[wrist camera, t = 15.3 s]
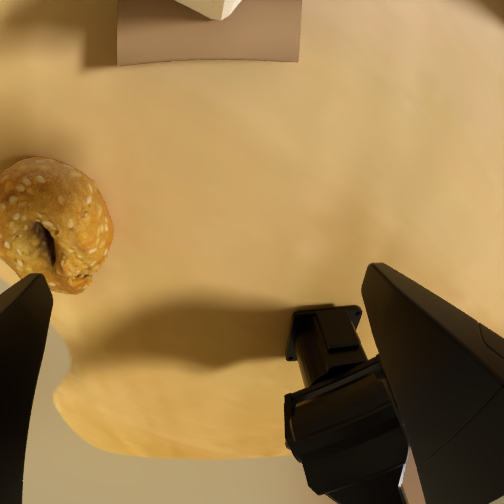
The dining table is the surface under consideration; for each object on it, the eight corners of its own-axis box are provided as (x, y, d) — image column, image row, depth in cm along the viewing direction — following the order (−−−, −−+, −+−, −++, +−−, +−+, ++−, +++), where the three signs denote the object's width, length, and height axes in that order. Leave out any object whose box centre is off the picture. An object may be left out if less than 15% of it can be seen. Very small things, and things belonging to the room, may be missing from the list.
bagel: (11, 266, 22) (-13, 303, 18) (1, 141, 16) (-38, 165, 12) (113, 289, 24) (100, 332, 20) (125, 157, 19) (103, 185, 15)
